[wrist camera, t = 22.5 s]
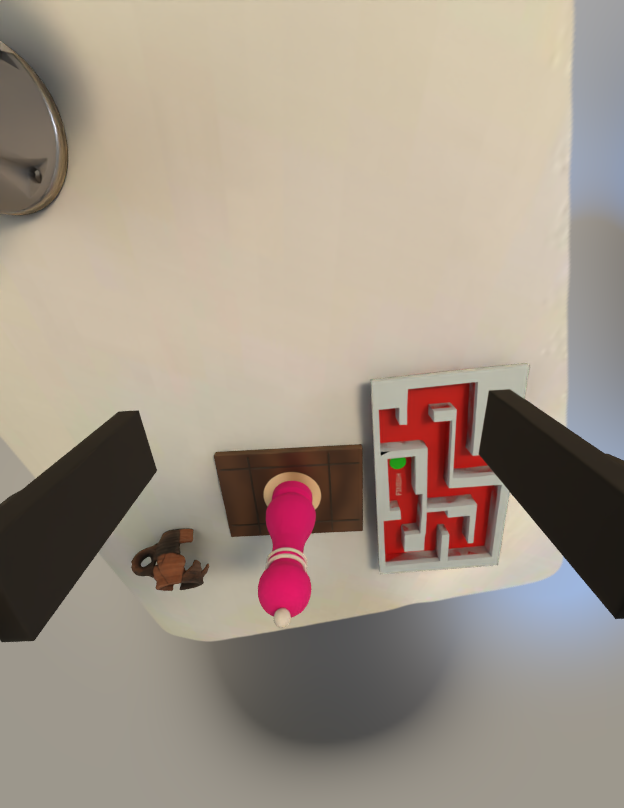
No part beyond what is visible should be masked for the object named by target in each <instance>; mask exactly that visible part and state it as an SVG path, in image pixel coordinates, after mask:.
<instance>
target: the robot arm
mask: <svg viewBox="0 0 624 808" xmlns="http://www.w3.org/2000/svg"><path fill="white" fill-rule="evenodd" d="M67 163H68V149H67V140H66V135H65V130H64V126H63V123H62V120H61V117H60V114H59V112H58V109H57V107H56V105H55V103H54V101H53V99H52V97H51V95H50V93H49V92H48V90H47V88H46V87H45V85H44V84H43V82H42V81H41V79H40V78H39V77H38V75H37V74H36V73H35V72H34V70H33V69H32V68H31V67H30V66H29V65H28V64H27V63H26V62H25V61H24V60H23V59H22V58H21V57H20V56H19V55H18V54H17V53H15V52H14V51H13V50H12V49H11V48H9V47H8V46H6V45H5V44H3V43H2V42H1V41H0V213H1V214H8V215H26V214H31V213H34V212H37V211H39V210H41V209H43V208H44V207H46V206H47V205H48V204H50V203H51V202H52V201H53V200H54V199H55V197H56V196H57V194H58V193H59V191H60V189H61V187H62V185H63V183H64V179H65V176H66V171H67ZM478 454H479V455H480V457H481V458H482V459H483V460H484V461H485V463H486V464H487V465H488V466H489V467H490V469H491V470H492V471H493V472H494V473H495V475H496V476H497V477H498V478H499V479H500V481H501V482H502V483H503V484H504V485H505V487H506V488H507V489H508V490H509V491H510V493H511V494H512V495H513V496H514V497H515V499H516V500H517V501H518V502H519V503H520V505H521V506H522V507H523V508H524V509H525V511H526V512H527V513H528V514H529V515H530V517H531V518H532V519H533V520H534V521H535V523H536V524H537V525H538V526H539V527H540V529H541V530H542V531H543V532H544V533H545V535H546V536H547V537H548V538H549V539H550V541H551V542H552V543H553V544H554V545H555V547H556V548H557V549H558V550H559V551H560V553H561V554H562V555H563V556H564V557H565V559H566V560H567V561H568V562H569V564H571V566H572V567H573V568H574V569H575V571H576V572H577V573H578V574H579V576H580V577H581V578H582V579H583V580H584V582H585V583H586V584H587V585H588V586H589V587H590V589H591V590H592V591H593V592H594V593H595V595H596V596H597V597H598V598H599V599H600V601H601V602H602V603H603V604H604V606H605V607H606V608H607V609H608V610H609V612H610V613H611V614H612V615H613V616H614V618H615V619H624V461H623V460H621V459H619V458H617V457H614V456H612V455H610V454H605V453H603V452H602V451H600V450H598V449H597V448H596V447H594V446H593V445H591V444H590V443H588V442H587V441H585V440H584V439H582V438H581V437H579V436H578V435H576V434H575V433H574V432H572V431H570V430H569V429H568V428H566V427H565V426H563V425H562V424H560V423H559V422H557V421H556V420H555V419H553V418H552V417H550V416H549V415H547V414H546V413H544V412H543V411H541V410H540V409H538V408H537V407H535V406H534V405H533V404H531V403H530V402H528V401H527V400H525V399H524V398H522V397H521V396H519V395H518V394H516V393H515V392H513V391H512V390H510V389H505V390H489V393H488V399H487V405H486V411H485V417H484V423H483V429H482V435H481V441H480V447H479V453H478ZM156 471H157V469H156V466H155V463H154V459H153V456H152V453H151V450H150V446H149V443H148V440H147V437H146V433H145V430H144V427H143V423H142V420H141V417H140V414H139V411H122V412H118V413H116V414H115V415H114V416H113V417H112V418H110V419H109V420H108V421H107V422H105V423H104V424H103V425H102V426H100V427H99V428H98V429H97V430H95V431H94V432H93V433H92V434H90V435H89V436H88V437H87V438H85V439H84V440H83V441H82V442H81V443H79V444H78V445H77V446H76V447H74V448H73V449H72V450H71V451H69V452H68V453H67V454H66V455H64V456H63V457H62V458H61V459H59V460H58V461H57V462H56V463H55V464H53V465H52V466H51V467H50V468H48V469H47V470H46V471H45V472H43V473H42V474H41V475H40V476H38V477H37V478H36V479H35V480H33V481H32V482H31V483H30V484H28V485H27V486H26V487H25V488H24V489H22V490H21V491H19V492H17V493H15V494H13V495H12V496H10V497H9V498H7V499H6V500H5V501H4V502H2V503H1V504H0V640H1V642H18V641H34V640H35V639H36V637H37V636H38V635H39V633H40V632H41V631H42V629H43V628H44V626H45V625H46V624H47V622H48V621H49V619H50V618H51V617H52V615H53V614H54V613H55V611H56V610H57V608H58V607H59V605H60V604H61V603H62V601H63V600H64V599H65V597H66V596H67V595H68V593H69V592H70V590H71V589H72V588H73V586H74V585H75V584H76V582H77V581H78V579H79V578H80V577H81V575H82V574H83V572H84V571H85V570H86V568H87V567H88V566H89V564H90V563H91V561H92V560H93V559H94V557H95V556H96V554H97V553H98V552H99V550H100V549H101V548H102V546H103V545H104V543H105V542H106V541H107V539H108V538H109V536H110V535H111V534H112V532H113V531H114V530H115V528H116V527H117V525H118V524H119V523H120V521H121V520H122V518H123V517H124V516H125V514H126V513H127V512H128V510H129V509H130V507H131V506H132V505H133V503H134V502H135V500H136V499H137V498H138V496H139V495H140V494H141V492H142V491H143V489H144V488H145V487H146V485H147V484H148V483H149V481H150V480H151V478H152V477H153V476H154V474H155V473H156Z"/></svg>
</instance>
